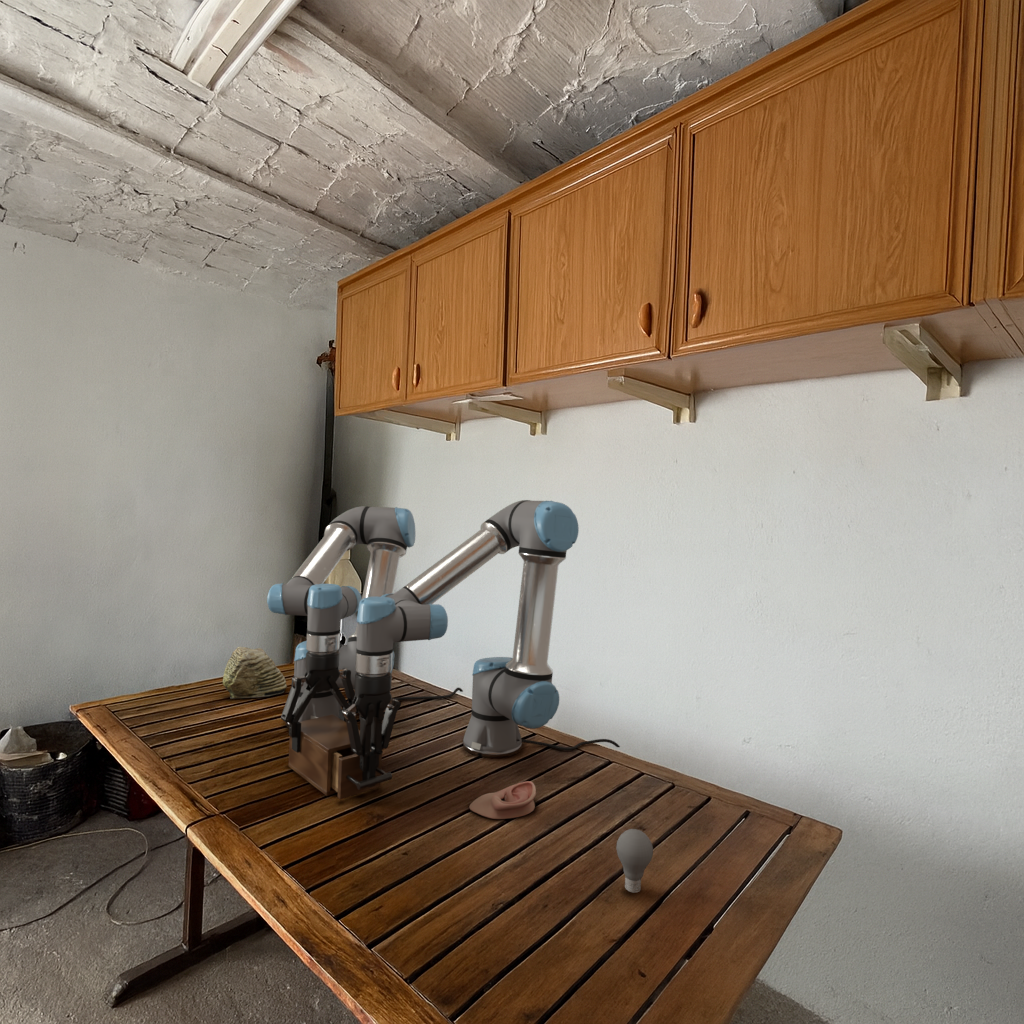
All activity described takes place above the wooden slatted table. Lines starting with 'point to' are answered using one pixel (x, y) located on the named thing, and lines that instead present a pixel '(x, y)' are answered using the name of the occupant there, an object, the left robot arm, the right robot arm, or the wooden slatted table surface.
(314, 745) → the cabinet
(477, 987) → the wooden slatted table surface
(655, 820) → the wooden slatted table surface
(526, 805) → the anatomical model
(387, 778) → the drawer
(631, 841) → the light bulb
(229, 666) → the fossil
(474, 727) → the right robot arm
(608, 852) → the wooden slatted table surface
